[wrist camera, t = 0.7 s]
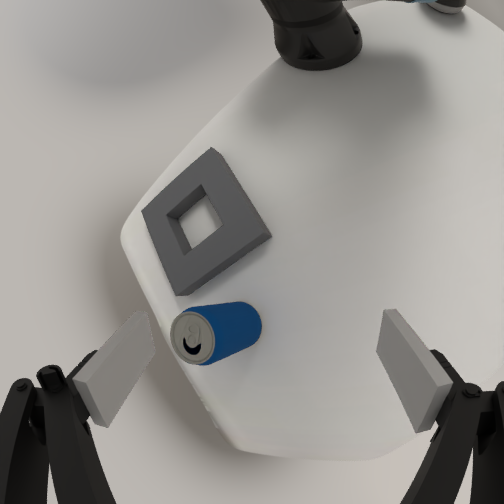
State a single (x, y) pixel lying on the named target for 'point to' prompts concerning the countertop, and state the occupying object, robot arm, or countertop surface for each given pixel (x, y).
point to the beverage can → (214, 331)
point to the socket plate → (217, 244)
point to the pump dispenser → (448, 5)
